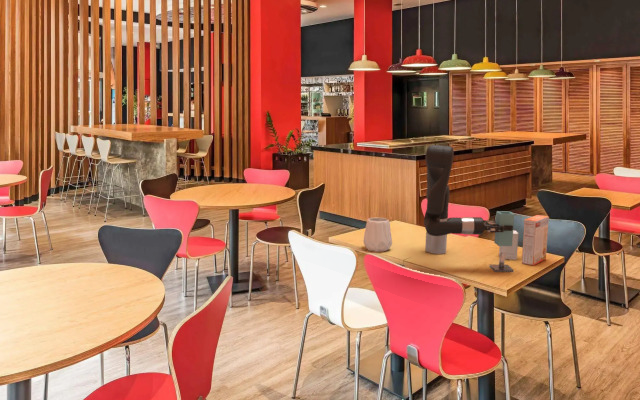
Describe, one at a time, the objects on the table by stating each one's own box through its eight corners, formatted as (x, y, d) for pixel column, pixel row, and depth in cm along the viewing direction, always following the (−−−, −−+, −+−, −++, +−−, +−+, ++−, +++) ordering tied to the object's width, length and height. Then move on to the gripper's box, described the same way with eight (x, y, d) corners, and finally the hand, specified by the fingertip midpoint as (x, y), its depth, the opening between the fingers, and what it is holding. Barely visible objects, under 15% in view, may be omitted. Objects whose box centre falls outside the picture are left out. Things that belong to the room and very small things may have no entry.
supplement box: (517, 260, 248) (519, 233, 246) (500, 259, 249) (502, 232, 247) (514, 255, 255) (516, 230, 253) (498, 254, 257) (500, 229, 254)
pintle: (494, 272, 230) (496, 254, 228) (489, 266, 237) (490, 249, 236) (513, 272, 229) (514, 254, 228) (507, 266, 237) (508, 249, 236)
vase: (368, 253, 257) (368, 223, 255) (360, 246, 271) (360, 217, 268) (395, 252, 260) (396, 221, 257) (386, 244, 274) (387, 216, 271)
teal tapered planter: (498, 245, 229) (500, 214, 226) (494, 242, 234) (496, 211, 232) (511, 246, 228) (514, 214, 226) (507, 242, 234) (509, 211, 232)
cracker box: (533, 257, 253) (537, 214, 249) (546, 260, 248) (550, 216, 245) (520, 263, 243) (523, 218, 239) (533, 266, 239) (537, 220, 235)
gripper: (476, 220, 223) (516, 221, 222) (467, 214, 237) (505, 214, 236) (474, 238, 224) (515, 238, 224) (466, 230, 238) (504, 231, 238)
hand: (510, 226), depth 230 cm, fingers closed on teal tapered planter, 5 cm apart
